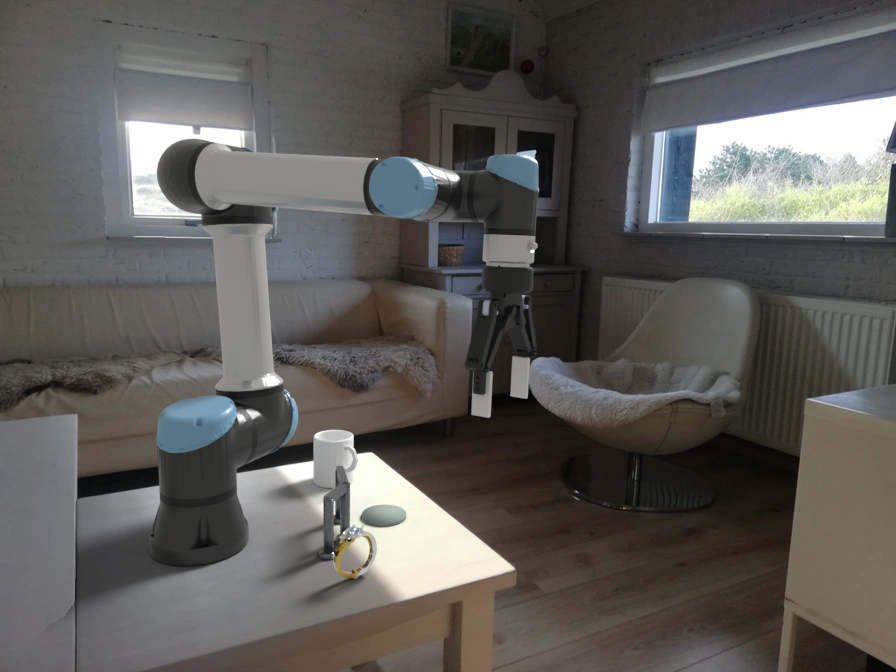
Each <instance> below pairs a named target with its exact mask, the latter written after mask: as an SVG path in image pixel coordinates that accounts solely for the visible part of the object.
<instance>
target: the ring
mask: <svg viewBox="0 0 896 672" xmlns="http://www.w3.org/2000/svg"><path fill="white" fill-rule="evenodd" d="M364 527H365V526H364V524H362V525H361V527H356V525H355V524H353V525H352V526H351V525H350V527H349V528H348V529H346V530H345V531H344V532H343V533H342V534H341V536H340V537H339V539H338V541H337V543H336V542H335V545H334V552H333V559H332V564H333V567H334V569H335V570H336V572H337V573H338V574H339V575H340V576H341V577H343V578H347V579H354V580H355V579H356V580H357V579H359V577H360V576H362V575H363V574H364V573H366V572H368V571H369V570H370V568H371V566H373V564H374V561H375V559H376V557H377V553H378V552H377V551H378V545H377V544H378V543H377V540H376V537H375V536H374V534H372V533H371V532H369V531H364ZM349 537H350V539H348V540H347V541H346V542H344V543H343V541H344V539H345V538H346V539H347V538H349ZM362 537H363V538H365V539H366V541H367V543H368V546H369V553H368V557H367V559H366V561H365V563H364V564H363V565H362V566H361V567H359V568H357V569H356V568H355V569H352V570H351V571H345V570H343V569H342V567H341V559H342V556H343V554H344V553H345V551H346V550H347V549H348V547H350V546H351V545H352V544H353V543H354V542H355V541H356V540H357V539H359V538H362ZM342 543H343V544H342Z"/></svg>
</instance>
